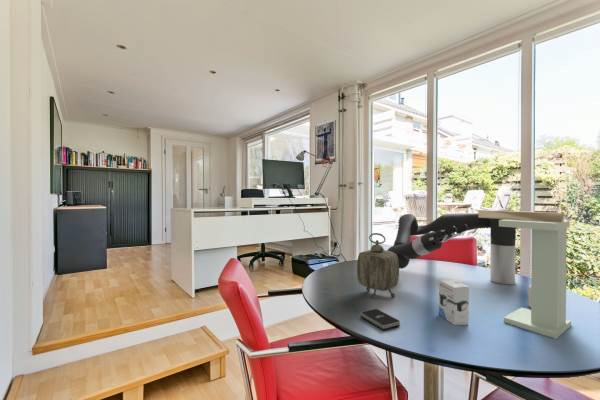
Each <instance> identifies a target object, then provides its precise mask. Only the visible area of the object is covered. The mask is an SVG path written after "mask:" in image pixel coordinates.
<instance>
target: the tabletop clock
mask: <svg viewBox="0 0 600 400" xmlns="http://www.w3.org/2000/svg"><path fill="white" fill-rule="evenodd" d="M376 235H377V236H380V237H382V238H383V239H384V240H383V241H380V242H379V240H378V239H376V240H375V241H374V240H372V239H371V238H372V236H376ZM368 240H369V241H370V242H371V243H373V245H371V247H370V249H368V250H365V251H361V252H359V253H358V256H357V266H356V269H357V272H356V273H357V274H356V275H357V276H356V277H357V281H358V284H360V285H361V286H363V287H365V289H366V291H367V292H370V291H371V289H372V290H373V293H372V295H371V296H372V298H374V297H375V298H377V297H378V296H377V291H382V292H385V291H388V292H389V294H390V297H391V298H395V297H396V294H395V293H393V292H392V290H391V289H393V288H395V287H396V286H397V285H398V283H399V280H400V278H399V277H400V268H399V261H398V257H397V254H395V253H393V252H390V251H387V250H386V249H384V247H383V246H382V244H384V243H385V242H386V237H385V235H384V234H382V233H379V232H374V233H371V234H370V235H369V237H368Z"/></svg>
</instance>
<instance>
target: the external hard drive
mask: <svg viewBox="0 0 600 400" xmlns="http://www.w3.org/2000/svg"><path fill="white" fill-rule="evenodd" d="M360 318H362V319H363V320H365V321H366V322H368V323H369V324H371V325H372V326H374V327H375V328H377V329H379V330H381V331H382V332H386V331H390V330H392V329H396V328H399V327H401V321H400V320H399V319H398V318H395V317H393V316H391V315H390V314H388V313H385V312H384V311H382V310H380V309H378V308H373V309H368V310H365V311H364V310H363V311H361V312H360Z"/></svg>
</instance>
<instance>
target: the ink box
mask: <svg viewBox="0 0 600 400" xmlns="http://www.w3.org/2000/svg"><path fill="white" fill-rule="evenodd" d="M438 281H439V282H438V314H439V316H441V317H442V318H443V319H445V320H447V321H448V322H450V323H451V324H452V325H454V326H461V325H463V326H466V325H469V317H470V316H469V314H470V313H469V298H470V297H469V296H470V295H469V286H468V285H466V284H464V283H461V282H459V281H457V280H456V279H439V280H438Z"/></svg>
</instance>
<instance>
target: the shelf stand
mask: <svg viewBox="0 0 600 400" xmlns="http://www.w3.org/2000/svg"><path fill="white" fill-rule="evenodd" d="M570 221H571V220H565V219H564V222H547V221H530V220H513V219H504V220H499V226H501V227H514V228H516V229H527V230H529V229H530V230H531V259H530V260H531V273H530V274H531V275H530V276H531V277H530V279H531V280H530V281H531V282H530V285H531V307H530V308H529V309H528V308H524V307H519V308H518V309H516V310H514V311H512V312H511V313H509V314H507V315H505V316H504V317H503V323H506V324H508V325H512V326H515V327H517V328H521V329H525V330H527V331H530V332H533V333H536V334H540V335H544V336H546V337H549V338H553V339H557V338H558V337H560V336H561V335H562V334H563V333H564V332H566V331H567V330H568V329H570V327H572V320H569V319H567V313H566V312H567V241H568V240H567V238H568V237H567V236H568V235H567V233H568V232H567V231H568V230H567V229H568V228H571V223H570Z"/></svg>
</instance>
